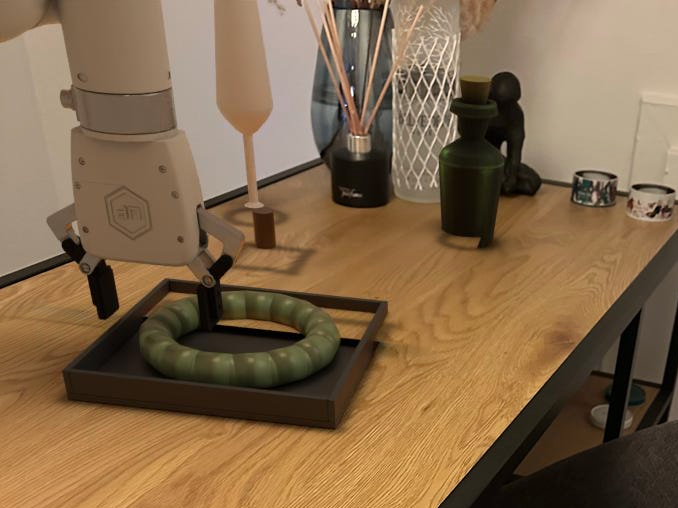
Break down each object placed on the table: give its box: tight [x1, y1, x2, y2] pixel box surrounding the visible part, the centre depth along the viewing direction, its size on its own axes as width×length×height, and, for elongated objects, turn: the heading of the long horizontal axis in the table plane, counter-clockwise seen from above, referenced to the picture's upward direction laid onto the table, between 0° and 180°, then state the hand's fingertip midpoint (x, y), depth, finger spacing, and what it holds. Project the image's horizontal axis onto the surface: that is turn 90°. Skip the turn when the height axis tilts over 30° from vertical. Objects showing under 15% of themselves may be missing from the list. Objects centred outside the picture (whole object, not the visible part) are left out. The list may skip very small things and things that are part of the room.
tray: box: [61, 277, 389, 430], centre depth 87 cm, size 23×23×3 cm
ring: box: [138, 291, 342, 389], centre depth 87 cm, size 18×18×3 cm
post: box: [251, 207, 277, 250], centre depth 108 cm, size 8×8×5 cm
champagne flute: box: [213, 0, 274, 209], centre depth 114 cm, size 7×7×24 cm
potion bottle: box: [437, 75, 505, 249], centre depth 114 cm, size 8×8×18 cm
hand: (160, 320), depth 86 cm, fingers open, 9 cm apart
